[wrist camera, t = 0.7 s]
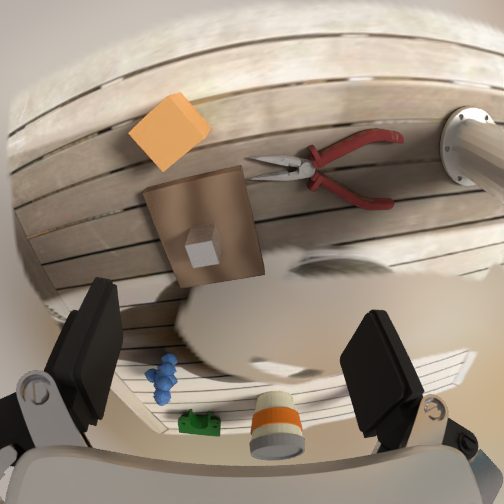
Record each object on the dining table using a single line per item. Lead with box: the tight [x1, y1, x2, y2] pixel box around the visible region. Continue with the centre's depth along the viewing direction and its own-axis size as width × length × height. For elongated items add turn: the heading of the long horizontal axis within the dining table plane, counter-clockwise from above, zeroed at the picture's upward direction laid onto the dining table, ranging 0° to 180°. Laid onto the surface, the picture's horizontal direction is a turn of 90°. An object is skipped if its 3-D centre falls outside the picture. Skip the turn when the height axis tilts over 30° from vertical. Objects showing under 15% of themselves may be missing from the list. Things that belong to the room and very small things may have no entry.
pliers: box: [250, 128, 404, 210], centre depth 36 cm, size 12×20×3 cm, turn 91°
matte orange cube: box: [128, 92, 211, 172], centre depth 31 cm, size 6×6×6 cm
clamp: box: [178, 409, 221, 436], centre depth 71 cm, size 12×6×9 cm, turn 78°
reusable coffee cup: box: [250, 391, 305, 460], centre depth 62 cm, size 13×12×15 cm
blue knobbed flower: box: [144, 353, 178, 406], centre depth 53 cm, size 12×7×12 cm, turn 162°
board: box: [143, 165, 265, 288], centre depth 39 cm, size 13×16×6 cm
